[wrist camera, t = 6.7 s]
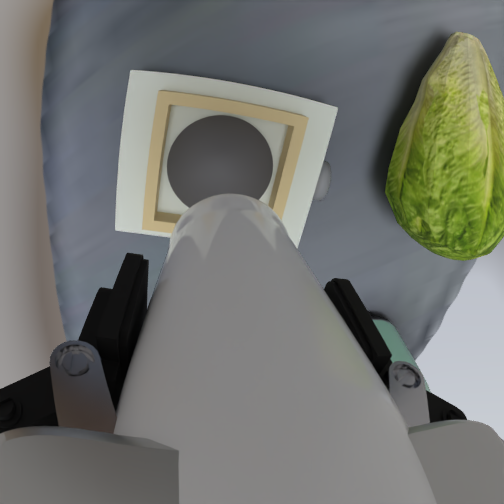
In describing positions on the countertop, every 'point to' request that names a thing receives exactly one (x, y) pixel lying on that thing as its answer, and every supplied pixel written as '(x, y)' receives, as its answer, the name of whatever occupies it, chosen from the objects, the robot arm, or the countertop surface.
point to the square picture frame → (217, 150)
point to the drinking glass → (261, 374)
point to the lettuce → (452, 156)
